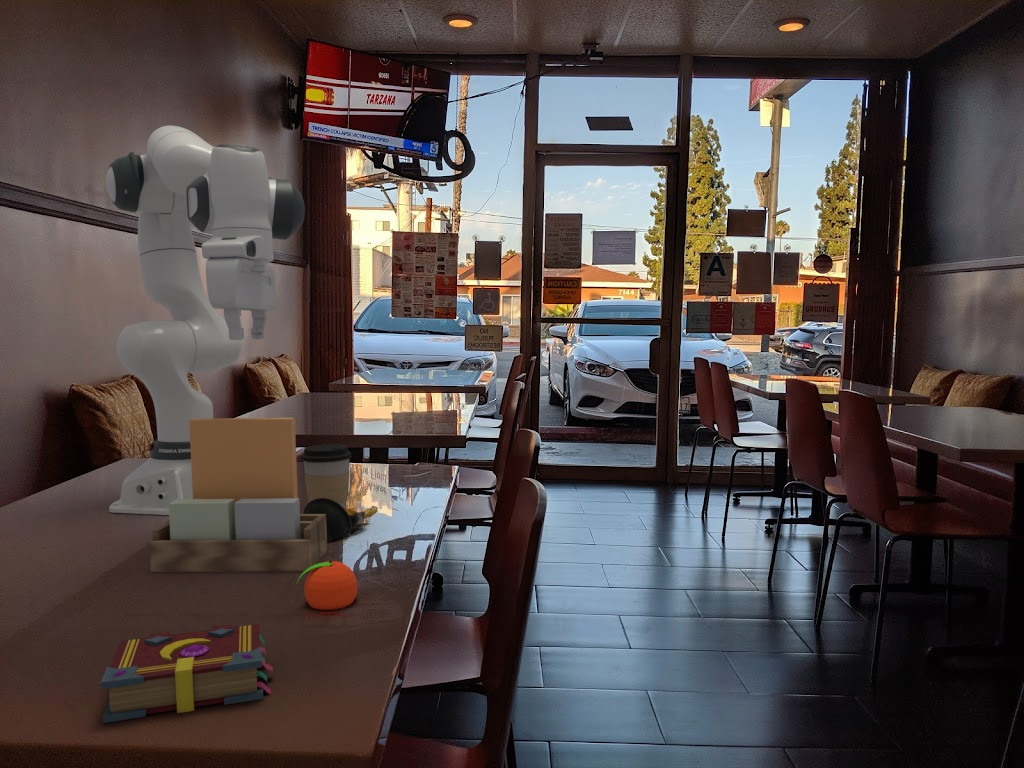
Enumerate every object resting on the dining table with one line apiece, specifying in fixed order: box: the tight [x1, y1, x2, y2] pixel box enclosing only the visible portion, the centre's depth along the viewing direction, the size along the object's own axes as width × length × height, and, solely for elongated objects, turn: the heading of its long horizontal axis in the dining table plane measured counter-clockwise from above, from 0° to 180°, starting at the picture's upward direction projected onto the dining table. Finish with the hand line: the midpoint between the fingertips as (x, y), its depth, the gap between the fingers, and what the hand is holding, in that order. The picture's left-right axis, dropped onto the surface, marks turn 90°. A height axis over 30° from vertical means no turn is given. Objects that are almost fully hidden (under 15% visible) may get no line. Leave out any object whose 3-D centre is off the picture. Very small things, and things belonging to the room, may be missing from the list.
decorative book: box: [100, 623, 274, 724], centre depth 87 cm, size 11×16×5 cm
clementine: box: [296, 560, 358, 616], centre depth 107 cm, size 8×7×7 cm
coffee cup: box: [299, 443, 353, 508], centre depth 152 cm, size 9×9×15 cm
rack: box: [149, 513, 328, 573], centre depth 126 cm, size 24×10×8 cm, turn 89°
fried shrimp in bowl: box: [302, 498, 379, 543], centre depth 144 cm, size 9×11×18 cm
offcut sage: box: [168, 499, 236, 540], centre depth 124 cm, size 9×3×10 cm, turn 89°
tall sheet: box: [189, 417, 299, 503], centre depth 128 cm, size 16×2×22 cm, turn 89°
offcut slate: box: [234, 497, 301, 540], centre depth 124 cm, size 9×3×10 cm, turn 89°
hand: (247, 339), depth 126 cm, fingers open, 8 cm apart
